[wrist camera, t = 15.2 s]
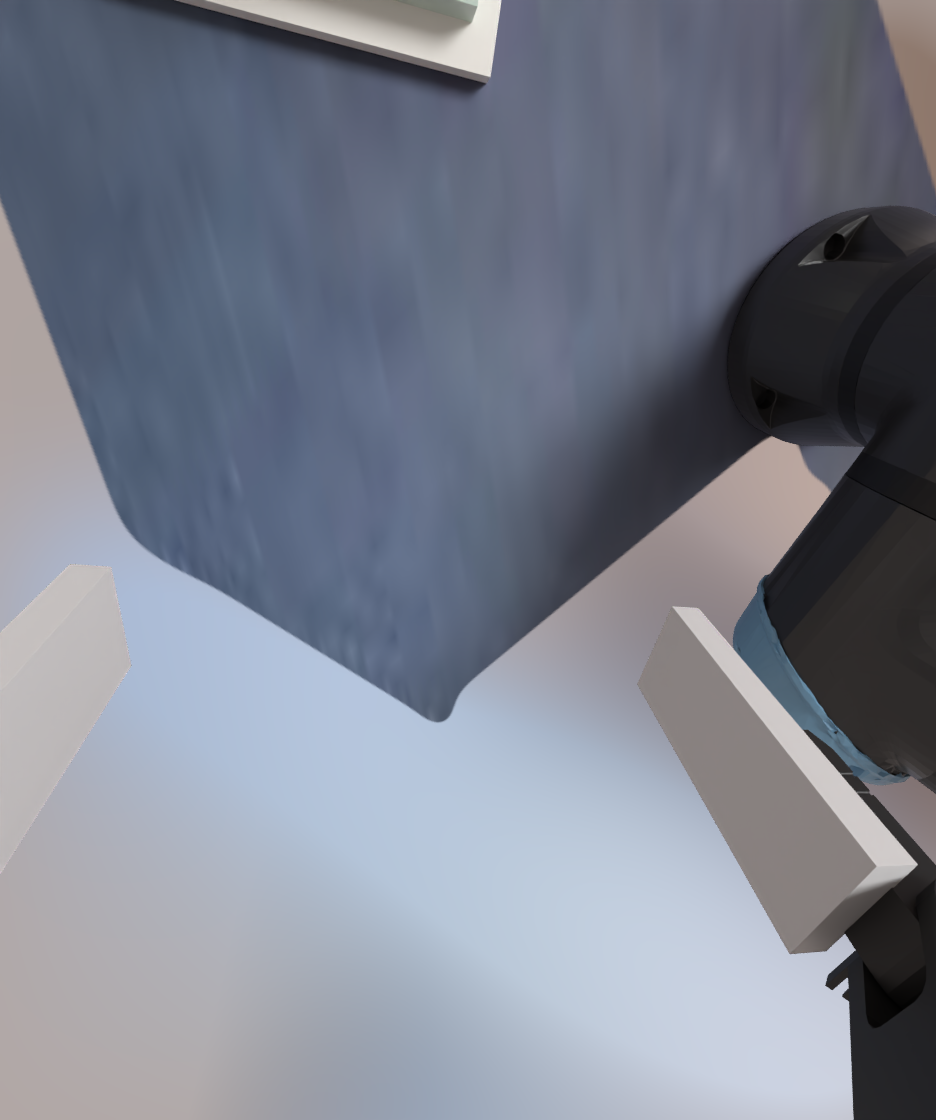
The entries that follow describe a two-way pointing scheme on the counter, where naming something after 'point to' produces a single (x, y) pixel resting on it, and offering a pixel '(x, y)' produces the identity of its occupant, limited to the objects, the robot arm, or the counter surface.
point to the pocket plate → (388, 28)
